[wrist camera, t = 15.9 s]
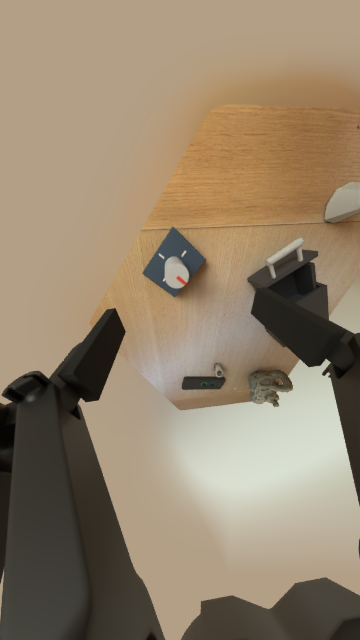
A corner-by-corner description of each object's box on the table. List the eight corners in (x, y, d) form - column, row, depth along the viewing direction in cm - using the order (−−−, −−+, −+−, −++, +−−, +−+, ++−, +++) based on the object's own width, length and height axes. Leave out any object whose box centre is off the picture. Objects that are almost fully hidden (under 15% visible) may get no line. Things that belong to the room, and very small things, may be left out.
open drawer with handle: (240, 263, 34) (256, 269, 28) (288, 229, 31) (318, 227, 25) (261, 313, 44) (277, 325, 38) (300, 290, 41) (323, 300, 35)
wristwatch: (219, 361, 57) (224, 371, 53) (219, 370, 60) (223, 380, 56) (212, 362, 57) (215, 373, 53) (211, 371, 60) (215, 381, 56)
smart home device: (220, 389, 66) (181, 390, 63) (219, 386, 68) (181, 386, 65) (226, 379, 62) (184, 379, 59) (224, 376, 64) (184, 376, 60)
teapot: (251, 386, 71) (270, 418, 59) (234, 383, 68) (250, 417, 56) (280, 361, 61) (310, 393, 49) (262, 356, 58) (289, 390, 45)
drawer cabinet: (253, 302, 42) (271, 316, 35) (297, 275, 39) (327, 285, 32) (266, 331, 50) (283, 347, 43) (303, 311, 46) (329, 325, 39)
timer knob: (160, 268, 31) (159, 279, 23) (172, 252, 29) (175, 258, 22) (175, 279, 33) (178, 293, 25) (186, 265, 31) (194, 275, 24)
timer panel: (172, 227, 29) (173, 226, 27) (203, 257, 34) (206, 259, 31) (143, 270, 34) (142, 273, 31) (174, 293, 38) (174, 297, 35)
